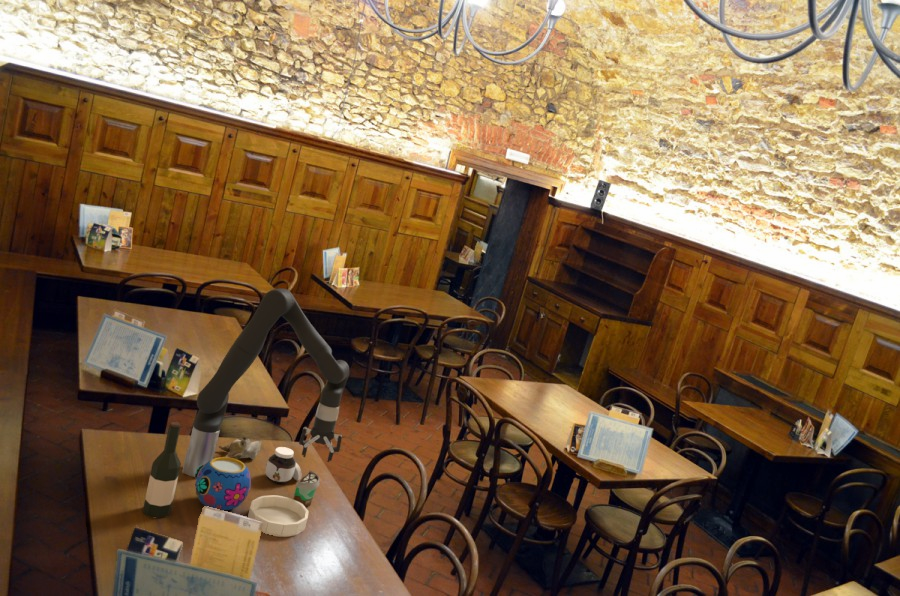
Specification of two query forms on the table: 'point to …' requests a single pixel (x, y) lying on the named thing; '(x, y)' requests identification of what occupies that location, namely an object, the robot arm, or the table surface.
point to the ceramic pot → (222, 483)
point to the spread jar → (282, 466)
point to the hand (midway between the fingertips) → (316, 458)
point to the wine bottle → (163, 477)
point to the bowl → (279, 515)
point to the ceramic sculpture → (242, 449)
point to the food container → (306, 488)
